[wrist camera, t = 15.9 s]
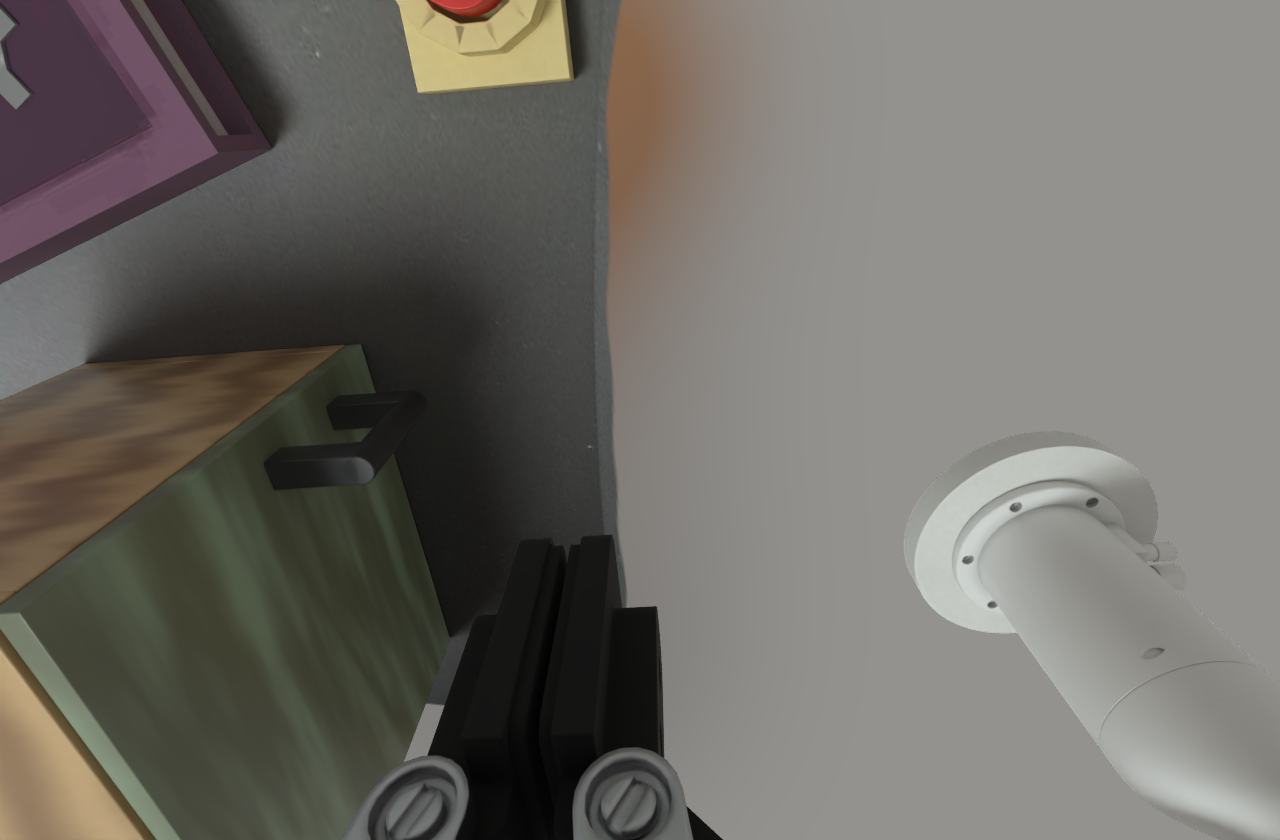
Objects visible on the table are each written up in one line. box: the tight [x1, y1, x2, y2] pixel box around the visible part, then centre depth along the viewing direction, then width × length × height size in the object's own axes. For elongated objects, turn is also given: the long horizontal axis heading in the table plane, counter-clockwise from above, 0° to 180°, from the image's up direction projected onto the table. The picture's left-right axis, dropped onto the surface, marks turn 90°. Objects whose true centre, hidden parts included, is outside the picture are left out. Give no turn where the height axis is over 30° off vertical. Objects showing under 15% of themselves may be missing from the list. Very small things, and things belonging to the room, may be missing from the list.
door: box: [0, 344, 450, 840], centre depth 35 cm, size 6×26×24 cm, turn 5°
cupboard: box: [0, 345, 345, 840], centre depth 35 cm, size 18×26×24 cm
